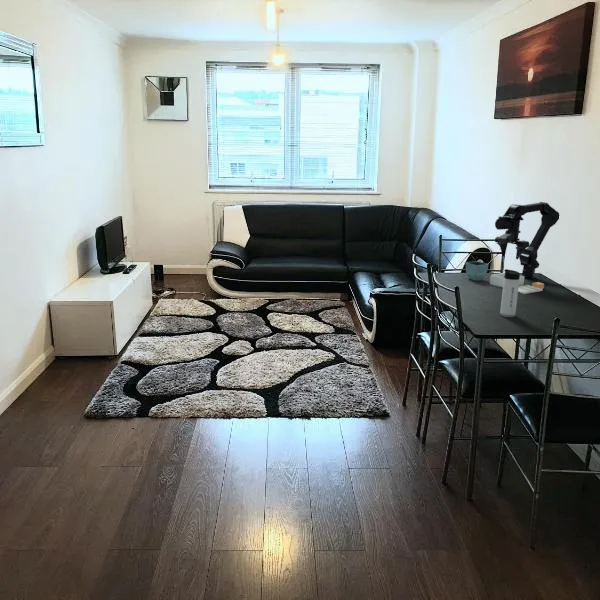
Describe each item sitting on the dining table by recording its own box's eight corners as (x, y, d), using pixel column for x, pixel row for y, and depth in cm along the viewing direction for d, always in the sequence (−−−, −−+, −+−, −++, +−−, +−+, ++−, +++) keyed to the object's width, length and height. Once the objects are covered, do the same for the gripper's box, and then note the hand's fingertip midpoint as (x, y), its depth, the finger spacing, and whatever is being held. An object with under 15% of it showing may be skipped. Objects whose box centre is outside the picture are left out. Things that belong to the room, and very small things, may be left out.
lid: (532, 285, 320) (533, 280, 320) (548, 289, 312) (548, 285, 312) (508, 289, 311) (509, 285, 311) (524, 294, 304) (524, 289, 303)
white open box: (508, 281, 328) (509, 272, 327) (523, 285, 320) (524, 276, 319) (489, 284, 321) (490, 274, 320) (504, 288, 313) (505, 279, 312)
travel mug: (502, 312, 272) (507, 268, 267) (517, 315, 268) (522, 270, 263) (496, 315, 268) (501, 270, 262) (511, 318, 263) (517, 273, 258)
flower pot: (463, 278, 333) (465, 262, 330) (476, 277, 336) (477, 261, 334) (474, 282, 325) (476, 265, 323) (487, 280, 329) (489, 264, 326)
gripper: (489, 227, 328) (486, 255, 332) (517, 232, 313) (513, 262, 317) (503, 225, 334) (500, 254, 338) (531, 231, 318) (528, 260, 323)
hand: (510, 257), depth 329 cm, fingers open, 9 cm apart
